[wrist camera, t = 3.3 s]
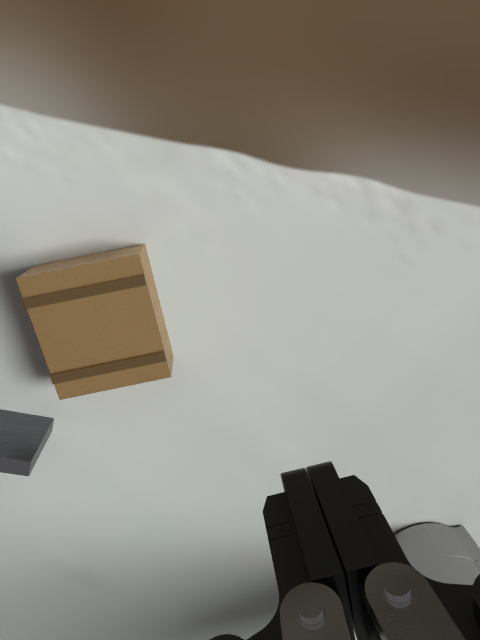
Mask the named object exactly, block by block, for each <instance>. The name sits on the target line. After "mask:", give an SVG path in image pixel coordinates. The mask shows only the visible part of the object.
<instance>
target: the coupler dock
mask: <svg viewBox="0 0 480 640" xmlns="http://www.w3.org/2000/svg"><path fill="white" fill-rule="evenodd" d="M53 421H54V419H53V418H47V417H41V416H35V415H29V414H23V413H17V412H11V411H5V410H0V472H3V473H10V474H17V475H24V476H29V475H30V473H31V471H32V469H33V467H34V465H35V463H36V461H37V459H38V457H39V455H40V453H41V451H42V449H43V448H44V446H45V444H46V442H47V440H48V438H49V436H50V434H51V432H52V427H53Z"/></svg>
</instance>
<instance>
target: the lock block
mask: <svg viewBox="0 0 480 640" xmlns="http://www.w3.org/2000/svg"><path fill="white" fill-rule="evenodd" d="M16 281H17V283H18V286H19V289H20V292H21V294H22V297H23V299H22V301H23V304H24V307H25V309H27V311H28V314H29V316H30V319H31V322H32V325H33V327H34V330H35V333H36V336H37V338H38V341H39V344H40V347H41V349H42V352H43V355H44V358H45V360H46V363H47V366H48V369H49V371H50V378H51V381H52V383H53V384H54V385H55V388H56V391H57V393H58V396H59V399H60V400H62V399H66V398H71V397H76V396H81V395H86V394H91V393H96V392H100V391H105V390H110V389H115V388H120V387H125V386H130V385H134V384H139V383H144V382H149V381H154V380H159V379H164V378H169V377H171V374H172V364H173V352H172V348H171V345H170V341H169V337H168V333H167V329H166V325H165V321H164V317H163V313H162V309H161V305H160V301H159V297H158V293H157V289H156V285H155V282H154V278H153V274H152V270H151V266H150V262H149V258H148V254H147V250H146V246H145V244H141V245H136V246H131V247H126V248H121V249H116V250H111V251H106V252H101V253H96V254H91V255H86V256H81V257H76V258H70V259H65V260H60V261H55V262H50V263H45V264H40V265H35V266H33V267H32V268H30V269H29V270H27V271H26V272H24V273H23V274H22V275H20V276H19V277H17V278H16Z"/></svg>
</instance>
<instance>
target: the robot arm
mask: <svg viewBox="0 0 480 640" xmlns="http://www.w3.org/2000/svg"><path fill="white" fill-rule="evenodd" d="M306 470H307V472H306ZM281 479H282V484H283V488H284V492H283V493H279V494H275V495H271V496H267V499H266V502H265V506H264V509H263V515H264V520H265V525H266V530H267V535H268V540H269V545H270V550H271V555H272V560H273V565H274V570H275V575H276V580H277V584H278V589H279V605H278V609H277V611H276V613H275V615H274V617H273V619H272V620H271V621H270V623H269V624H268V625H267V626H266V627H265V628H263V629H262V630H261V631H259V632H258V633H256V634H255V635H253V636H252V637H250V638H249V639H247V640H355V636H354V631H355V634H356V637H357V640H480V548H479V547H478V545H477V544H476V542H475V541H474V540H473V538H472V537H471V536H470V534H469V533H468V532H467V530H466V529H465V527H464V526H459V527H449V526H446V525H443V524H437V523H425V524H419V525H415V526H412V527H409V528H407V529H404V530H403V531H401V532H399V533H398V534H396V535H394V533H393V532H392V530H391V528H390V526H389V524H388V522H387V520H386V519H385V517H384V515H383V514H382V511H381V509H380V507H379V506H378V504H377V503H376V500H375V498H374V496H373V494H372V492H371V491H370V489H369V487H368V485H366V484H365V483H364V482H362V481H361V480H360V479H358V478H357V477H356V476H355V475H352V476H348V477H344V478H340V479H339V477H338V475H337V472H336V470H335V468H334V466H333V464H332V462H331V461H330V462H326V463H321V464H317V465H313V466H309V467H306V469H305V468H301V469H297V470H293V471H289V472H285V473H281ZM353 628H354V630H353ZM210 640H244V639H242V638H241V637H238V636H236V635H231V634H224V635H219V636H216V637H214V638H212V639H210Z"/></svg>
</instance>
